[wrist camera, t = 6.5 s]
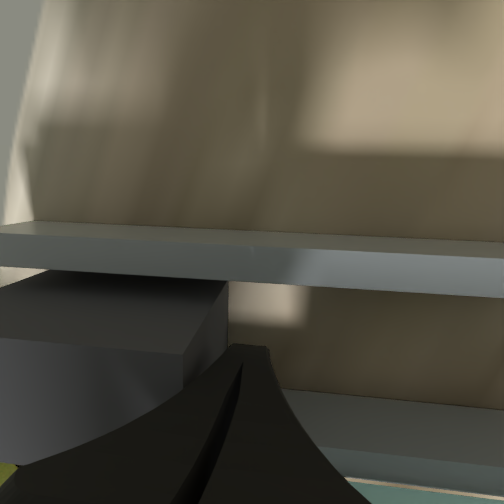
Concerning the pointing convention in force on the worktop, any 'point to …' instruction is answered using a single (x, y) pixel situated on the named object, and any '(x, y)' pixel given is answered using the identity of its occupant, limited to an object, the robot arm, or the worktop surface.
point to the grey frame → (323, 275)
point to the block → (98, 353)
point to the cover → (413, 496)
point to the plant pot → (6, 471)
